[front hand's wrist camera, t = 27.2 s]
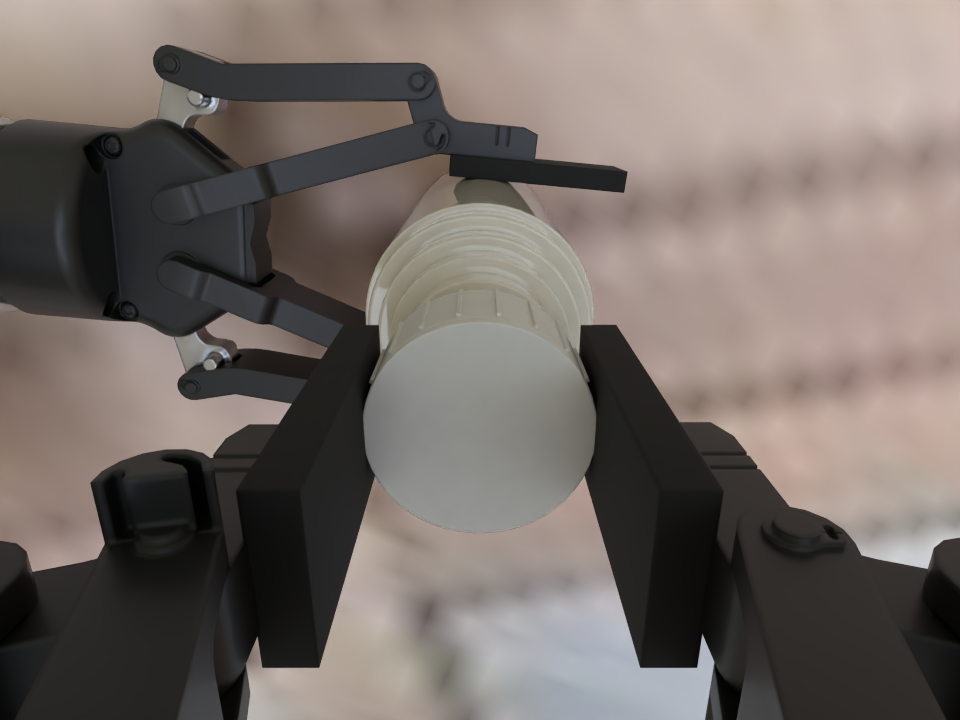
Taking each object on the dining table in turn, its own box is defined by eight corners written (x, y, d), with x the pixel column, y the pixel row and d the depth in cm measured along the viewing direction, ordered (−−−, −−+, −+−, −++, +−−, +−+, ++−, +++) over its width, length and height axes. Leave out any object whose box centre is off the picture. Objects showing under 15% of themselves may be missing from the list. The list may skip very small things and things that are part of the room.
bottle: (410, 291, 33) (314, 536, 14) (416, 158, 31) (312, 231, 12) (537, 301, 34) (617, 557, 14) (553, 170, 31) (673, 260, 12)
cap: (623, 357, 14) (649, 402, 12) (508, 507, 15) (513, 572, 13) (447, 245, 13) (440, 271, 11) (341, 414, 14) (316, 467, 12)
